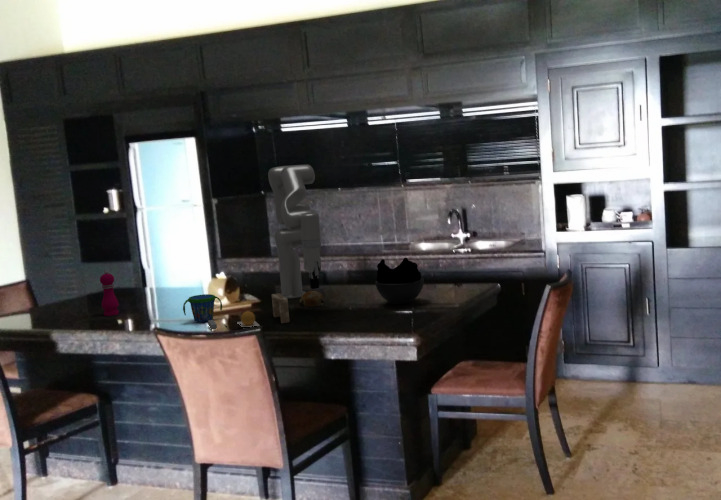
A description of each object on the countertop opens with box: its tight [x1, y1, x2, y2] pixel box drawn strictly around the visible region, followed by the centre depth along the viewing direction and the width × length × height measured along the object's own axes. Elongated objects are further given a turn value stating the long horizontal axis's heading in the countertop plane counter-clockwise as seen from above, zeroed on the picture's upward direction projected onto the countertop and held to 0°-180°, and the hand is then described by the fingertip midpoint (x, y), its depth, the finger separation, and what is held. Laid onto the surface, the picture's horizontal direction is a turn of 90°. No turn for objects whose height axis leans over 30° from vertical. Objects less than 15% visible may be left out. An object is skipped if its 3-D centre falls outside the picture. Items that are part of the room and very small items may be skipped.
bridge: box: [271, 292, 290, 324], centre depth 303 cm, size 3×14×9 cm, turn 19°
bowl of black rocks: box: [374, 257, 425, 305], centre depth 314 cm, size 20×20×19 cm
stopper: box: [207, 319, 218, 330], centre depth 296 cm, size 9×2×2 cm, turn 19°
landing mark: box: [237, 320, 261, 328], centre depth 298 cm, size 12×12×1 cm
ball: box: [240, 310, 256, 325], centre depth 297 cm, size 6×6×6 cm
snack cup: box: [182, 293, 223, 323], centre depth 310 cm, size 16×10×10 cm
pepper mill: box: [99, 269, 120, 317], centre depth 338 cm, size 7×7×20 cm
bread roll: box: [299, 290, 325, 308], centre depth 327 cm, size 10×10×8 cm
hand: (314, 288), depth 308 cm, fingers closed
